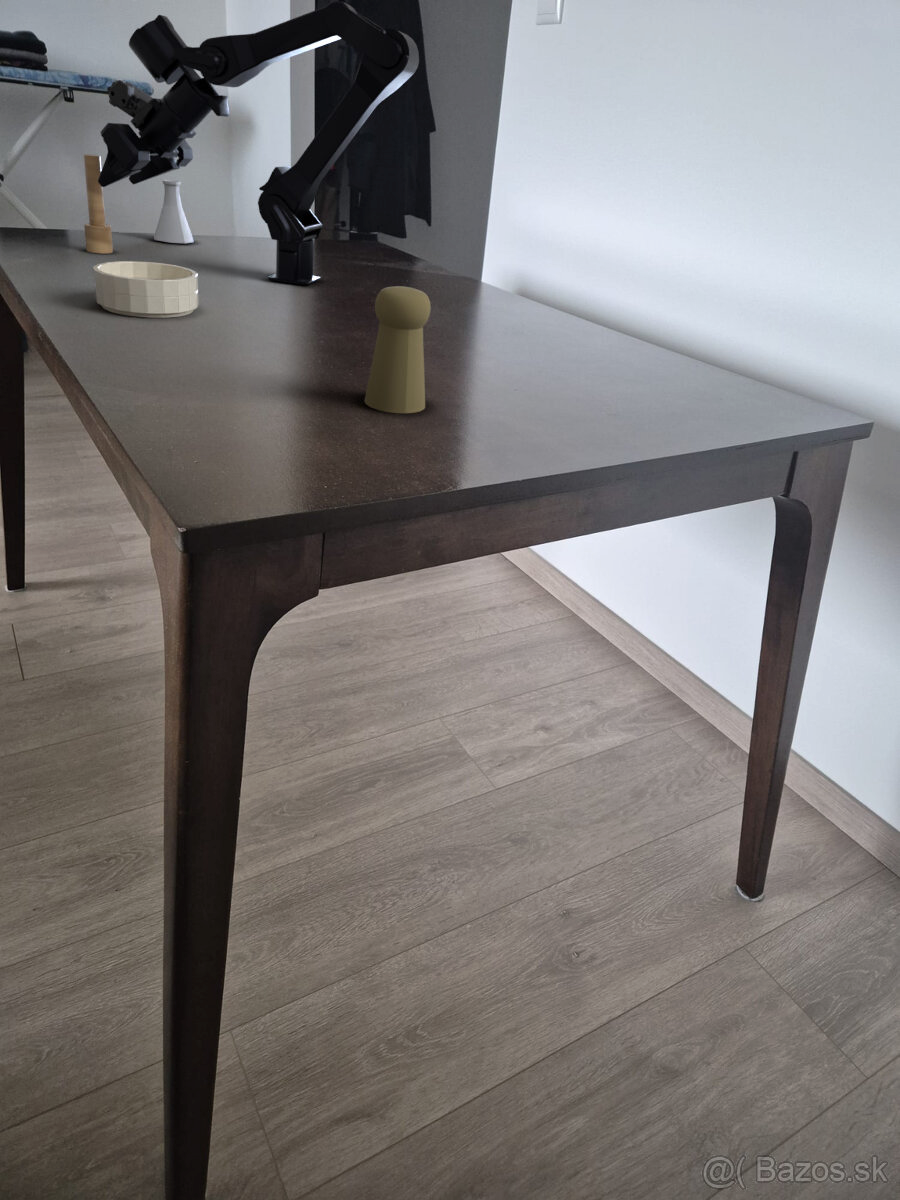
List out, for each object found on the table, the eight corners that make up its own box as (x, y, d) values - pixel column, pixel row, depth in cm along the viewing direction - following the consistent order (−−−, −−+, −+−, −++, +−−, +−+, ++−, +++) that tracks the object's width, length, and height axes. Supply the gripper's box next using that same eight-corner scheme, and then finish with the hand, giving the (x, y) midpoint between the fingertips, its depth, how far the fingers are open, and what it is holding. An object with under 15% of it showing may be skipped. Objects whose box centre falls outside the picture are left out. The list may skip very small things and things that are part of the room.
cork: (364, 392, 88) (371, 279, 83) (423, 397, 89) (434, 285, 84) (364, 410, 83) (372, 290, 78) (427, 415, 84) (439, 297, 78)
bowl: (127, 293, 116) (125, 257, 114) (214, 306, 115) (213, 271, 113) (76, 308, 105) (73, 269, 103) (171, 323, 104) (169, 284, 102)
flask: (188, 246, 155) (186, 184, 150) (147, 241, 154) (144, 179, 149) (199, 241, 161) (197, 181, 156) (160, 236, 161) (157, 176, 156)
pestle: (94, 248, 143) (87, 153, 136) (117, 251, 142) (110, 156, 135) (81, 251, 139) (72, 153, 132) (104, 254, 139) (97, 156, 132)
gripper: (171, 66, 134) (110, 137, 141) (108, 56, 118) (42, 137, 125) (220, 130, 137) (158, 196, 144) (165, 129, 121) (98, 204, 128)
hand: (116, 183), depth 135 cm, fingers open, 9 cm apart
